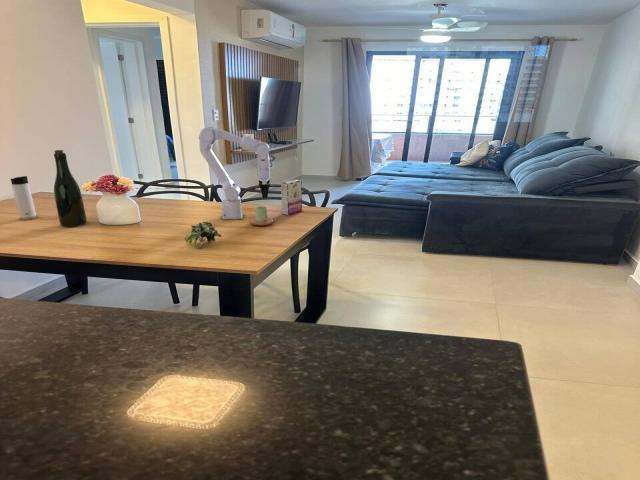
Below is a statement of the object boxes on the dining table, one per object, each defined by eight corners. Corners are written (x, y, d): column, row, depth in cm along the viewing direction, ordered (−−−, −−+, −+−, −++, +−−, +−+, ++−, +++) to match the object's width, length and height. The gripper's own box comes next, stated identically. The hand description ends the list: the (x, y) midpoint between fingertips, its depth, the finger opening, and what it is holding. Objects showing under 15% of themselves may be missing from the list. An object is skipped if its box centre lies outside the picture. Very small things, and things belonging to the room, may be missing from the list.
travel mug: (31, 220, 178) (20, 177, 171) (17, 219, 178) (6, 177, 171) (40, 216, 184) (30, 175, 177) (27, 216, 184) (16, 174, 177)
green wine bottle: (57, 224, 172) (41, 149, 162) (83, 219, 180) (69, 148, 169) (63, 229, 165) (47, 151, 155) (90, 224, 173) (76, 150, 162)
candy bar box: (295, 209, 204) (295, 179, 199) (302, 211, 201) (302, 180, 196) (281, 213, 196) (280, 182, 190) (288, 215, 193) (287, 183, 187)
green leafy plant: (210, 254, 155) (226, 231, 153) (200, 259, 144) (217, 234, 142) (187, 238, 154) (203, 214, 152) (175, 242, 144) (193, 216, 142)
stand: (249, 227, 172) (249, 223, 172) (249, 220, 182) (249, 217, 182) (273, 226, 174) (273, 223, 173) (272, 220, 184) (272, 216, 184)
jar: (255, 221, 175) (255, 209, 173) (255, 218, 180) (255, 206, 178) (267, 221, 176) (266, 208, 174) (266, 218, 180) (266, 206, 178)
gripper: (272, 170, 176) (273, 199, 180) (271, 166, 189) (272, 193, 194) (257, 170, 175) (258, 199, 179) (257, 166, 188) (258, 193, 193)
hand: (264, 196), depth 186 cm, fingers open, 7 cm apart
